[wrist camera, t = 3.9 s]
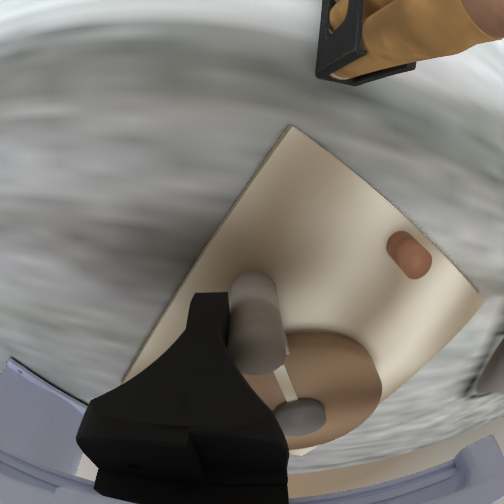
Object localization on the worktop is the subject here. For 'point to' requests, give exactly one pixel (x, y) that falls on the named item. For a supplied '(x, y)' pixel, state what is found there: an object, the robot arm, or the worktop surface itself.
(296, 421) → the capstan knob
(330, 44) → the ammunition clip
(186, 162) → the worktop surface
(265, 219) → the board
